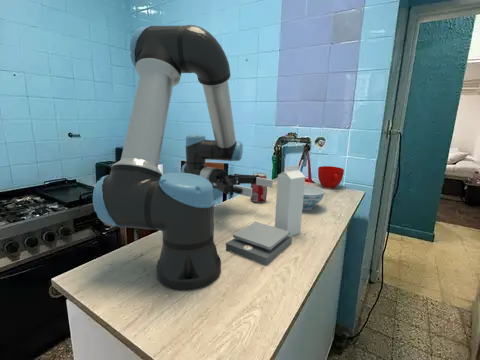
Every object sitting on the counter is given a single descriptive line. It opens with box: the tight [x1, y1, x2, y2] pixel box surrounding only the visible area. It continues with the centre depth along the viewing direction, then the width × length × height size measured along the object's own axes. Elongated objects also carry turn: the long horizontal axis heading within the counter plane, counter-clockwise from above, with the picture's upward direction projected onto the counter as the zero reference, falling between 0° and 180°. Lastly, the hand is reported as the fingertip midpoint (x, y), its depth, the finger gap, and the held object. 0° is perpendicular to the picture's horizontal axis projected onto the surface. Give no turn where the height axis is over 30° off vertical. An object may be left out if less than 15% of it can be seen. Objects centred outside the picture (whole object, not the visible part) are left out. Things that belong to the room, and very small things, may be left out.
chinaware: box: [302, 184, 326, 211], centre depth 110 cm, size 15×15×8 cm
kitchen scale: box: [225, 221, 293, 266], centre depth 77 cm, size 15×13×4 cm
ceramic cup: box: [317, 165, 345, 189], centre depth 140 cm, size 13×17×10 cm
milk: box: [274, 164, 306, 237], centre depth 85 cm, size 6×6×22 cm
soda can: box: [250, 172, 268, 204], centre depth 116 cm, size 7×7×12 cm
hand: (262, 188), depth 90 cm, fingers open, 13 cm apart
